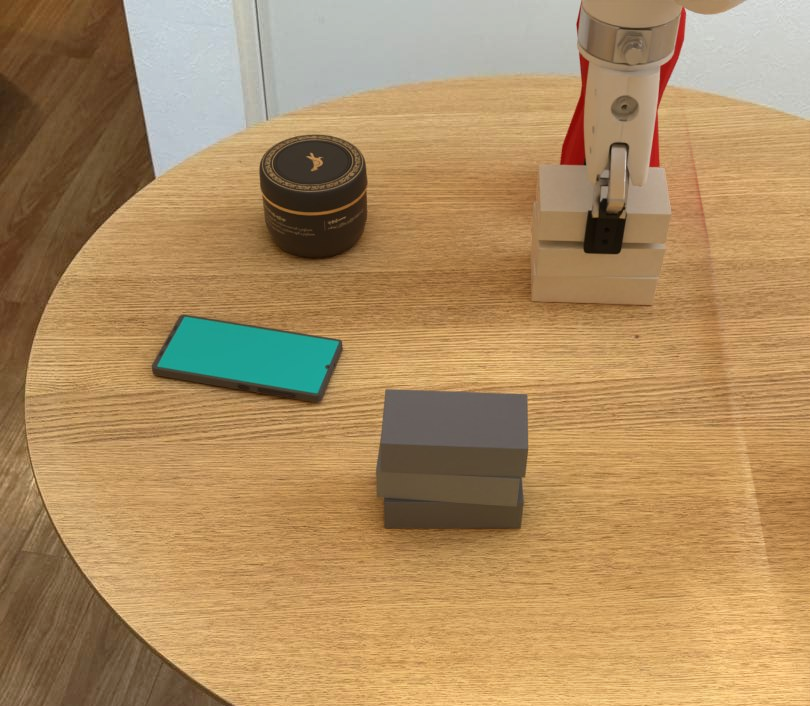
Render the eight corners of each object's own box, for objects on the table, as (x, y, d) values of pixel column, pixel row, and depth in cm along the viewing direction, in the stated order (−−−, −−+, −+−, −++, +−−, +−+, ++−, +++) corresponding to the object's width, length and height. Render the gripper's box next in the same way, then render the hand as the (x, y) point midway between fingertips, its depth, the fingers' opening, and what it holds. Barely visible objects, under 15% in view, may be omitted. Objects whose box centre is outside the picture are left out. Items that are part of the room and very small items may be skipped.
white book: (658, 196, 104) (664, 167, 101) (665, 244, 99) (671, 214, 97) (536, 193, 104) (539, 163, 102) (537, 240, 100) (540, 210, 97)
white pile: (648, 256, 109) (659, 201, 105) (655, 307, 104) (666, 252, 100) (528, 252, 110) (533, 197, 105) (529, 303, 105) (534, 248, 100)
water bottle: (643, 161, 119) (689, -95, 100) (656, 225, 112) (708, -38, 93) (554, 160, 119) (582, -96, 100) (561, 224, 112) (593, -39, 93)
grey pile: (520, 474, 91) (529, 391, 84) (520, 534, 88) (530, 451, 81) (382, 469, 92) (380, 385, 85) (377, 528, 88) (374, 445, 81)
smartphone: (180, 313, 103) (343, 339, 100) (182, 321, 103) (343, 347, 101) (149, 368, 98) (319, 397, 96) (151, 375, 99) (319, 404, 96)
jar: (333, 190, 116) (329, 120, 110) (389, 239, 111) (388, 169, 105) (247, 223, 113) (238, 153, 107) (299, 276, 107) (293, 206, 101)
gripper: (688, 89, 83) (649, 288, 97) (667, -23, 94) (634, 170, 108) (583, 86, 83) (559, 285, 97) (574, -25, 94) (554, 168, 108)
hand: (599, 223), depth 102 cm, fingers closed on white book, 7 cm apart
